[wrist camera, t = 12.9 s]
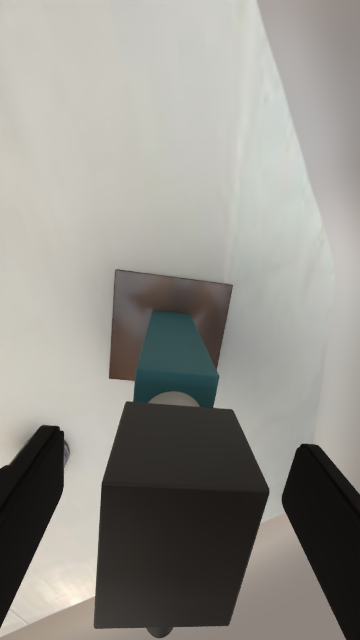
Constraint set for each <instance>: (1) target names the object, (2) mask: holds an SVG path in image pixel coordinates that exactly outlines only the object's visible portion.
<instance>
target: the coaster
mask: <svg viewBox="0 0 360 640" xmlns="http://www.w3.org/2000/svg"><path fill="white" fill-rule="evenodd" d="M232 287H233V285H230V284H222V283H215V282H207V281H200V280H192V279H185V278H177V277H169V276H162V275H154V274H147V273H139V272H131V271H124V270H115V284H114V301H113V318H112V336H111V353H110V370H109V379H120V380H132V381H135V376H136V368H137V364H138V361H139V357H140V354H141V350H142V346H143V343H144V339H145V336H146V332H147V329H148V325H149V321H150V318H151V314H152V311H153V310H158V311H166V312H175V313H183V314H190V315H191V317H192V319H193V321H194V324H195V326H196V328H197V330H198V332H199V334H200V336H201V338H202V341H203V343H204V345H205V347H206V349H207V351H208V353H209V355H210V358H211V360H212V362H213V364H214V366H215V368H216V370H217V365H218V360H219V355H220V350H221V344H222V339H223V334H224V329H225V324H226V318H227V313H228V308H229V303H230V297H231V292H232Z"/></svg>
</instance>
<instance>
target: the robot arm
mask: <svg viewBox="0 0 360 640" xmlns="http://www.w3.org/2000/svg"><path fill="white" fill-rule="evenodd" d="M63 487H64V432H63V431H60V428H59V426H47V425H42V426H41V427H40V428H39V429H38V430H37V432H36V433H35V434H34V435H33V437H32V438H31V439H30V440H29V442H28V443H27V444H26V445H25V447H24V448H23V449H22V451H21V452H20V453H19V454H18V456H17V457H16V458H15V459H14V461H13V462H12V463H11V464H10V465H5V466H4V467H2V468H1V469H0V628H1V625H2V623H3V621H4V619H5V617H6V615H7V612H8V610H9V608H10V606H11V604H12V602H13V599H14V597H15V595H16V593H17V591H18V589H19V587H20V584H21V582H22V580H23V578H24V576H25V574H26V571H27V569H28V567H29V565H30V563H31V561H32V558H33V556H34V554H35V552H36V550H37V548H38V545H39V543H40V541H41V539H42V537H43V535H44V532H45V530H46V528H47V526H48V524H49V522H50V519H51V517H52V515H53V513H54V511H55V509H56V506H57V504H58V502H59V500H60V498H61V495H62V492H63ZM282 505H283V508H284V510H285V512H286V514H287V516H288V518H289V520H290V523H291V524H292V527H293V529H294V531H295V533H296V535H297V537H298V539H299V541H300V544H301V546H302V548H303V550H304V552H305V554H306V556H307V558H308V560H309V562H310V565H311V567H312V569H313V571H314V573H315V575H316V577H317V579H318V581H319V583H320V585H321V588H322V590H323V592H324V594H325V596H326V598H327V600H328V603H329V605H330V607H331V609H332V611H333V613H334V615H335V617H336V619H337V621H338V624H339V626H340V628H341V630H342V632H343V634H344V636H345V638H346V640H360V494H359V493H358V492H357V491H356V490H355V488H354V487H353V486H352V485H351V483H350V482H349V481H348V480H347V479H346V477H345V476H344V475H343V474H342V473H341V471H340V470H339V469H338V468H337V467H336V466H335V464H334V463H333V462H332V461H331V460H330V458H329V457H328V456H327V455H326V454H325V452H324V451H323V450H322V449H321V448H320V447H319V446H318V445H314V444H301V445H300V447H298V448H297V450H296V453H295V456H294V459H293V462H292V466H291V469H290V472H289V475H288V478H287V481H286V485H285V488H284V491H283V494H282Z"/></svg>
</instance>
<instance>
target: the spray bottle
mask: <svg viewBox="0 0 360 640" xmlns="http://www.w3.org/2000/svg"><path fill="white" fill-rule="evenodd" d="M218 381H219V375H218V372H217V370H216V368H215V366H214V364H213V362H212V360H211V358H210V355H209V353H208V351H207V349H206V347H205V345H204V343H203V341H202V338H201V336H200V334H199V332H198V330H197V328H196V326H195V324H194V321H193V319H192V317H191V315H190V314H183V313H175V312H166V311H158V310H153V311H152V314H151V318H150V321H149V325H148V329H147V332H146V336H145V339H144V343H143V346H142V350H141V354H140V357H139V361H138V364H137V368H136V376H135V387H134V398H133V402H128V401H127V402H126V403H125V405H124V409H123V412H122V416H121V419H120V422H119V426H118V429H117V433H116V436H115V440H114V443H113V447H112V450H111V453H110V457H109V460H108V464H107V467H106V471H105V474H104V477H103V481H102V488H101V506H100V523H99V541H98V559H97V576H96V594H95V613H94V628H96V629H99V628H100V629H103V628H147V630H148V632H149V633H150V634H151V635H152V636H154V637H156V638H163V637H165V636H167V635H168V634H169V633H170V632H171V631H172V629H173V627H198V626H228V625H229V624H230V621H231V617H232V614H233V611H234V607H235V604H236V601H237V597H238V594H239V591H240V588H241V584H242V581H243V578H244V574H245V571H246V568H247V565H248V561H249V558H250V555H251V551H252V548H253V545H254V542H255V538H256V535H257V532H258V529H259V525H260V522H261V519H262V515H263V512H264V509H265V506H266V502H267V499H268V496H269V487H268V485H267V483H266V481H265V479H264V476H263V474H262V472H261V470H260V468H259V465H258V463H257V461H256V459H255V457H254V455H253V452H252V450H251V448H250V446H249V444H248V441H247V439H246V437H245V435H244V433H243V430H242V428H241V426H240V424H239V422H238V420H237V417H236V415H235V413H234V411H233V410H232V409H220V408H213V406H214V401H215V396H216V391H217V386H218Z"/></svg>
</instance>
